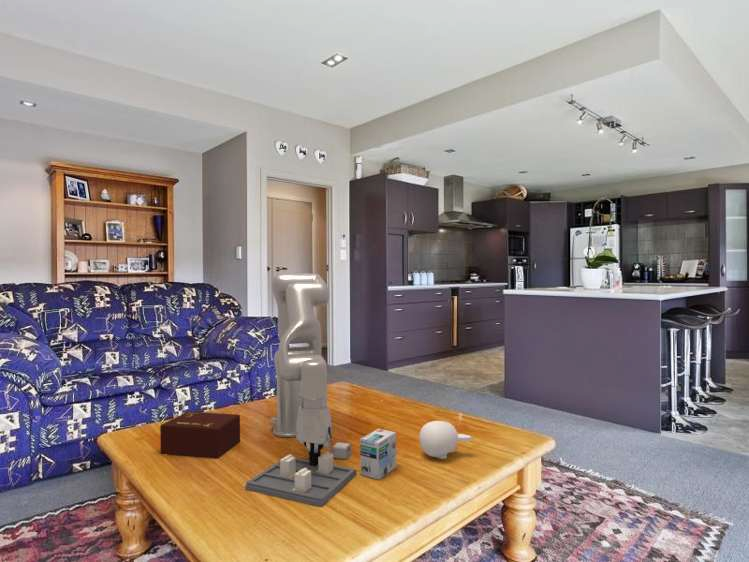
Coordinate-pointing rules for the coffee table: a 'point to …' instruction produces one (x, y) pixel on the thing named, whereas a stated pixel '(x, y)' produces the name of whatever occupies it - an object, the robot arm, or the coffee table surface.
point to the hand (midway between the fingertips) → (314, 464)
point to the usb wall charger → (341, 450)
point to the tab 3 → (325, 463)
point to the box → (200, 434)
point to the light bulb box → (378, 453)
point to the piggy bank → (440, 438)
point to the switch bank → (285, 486)
